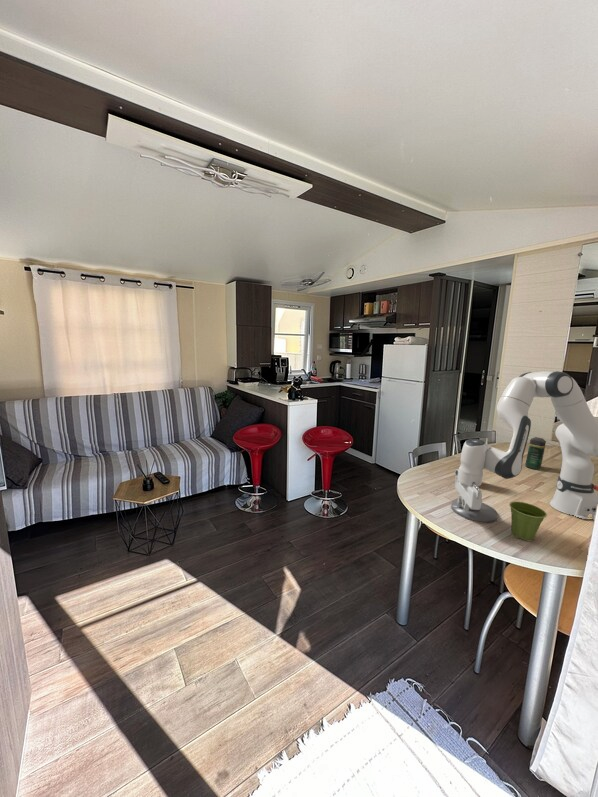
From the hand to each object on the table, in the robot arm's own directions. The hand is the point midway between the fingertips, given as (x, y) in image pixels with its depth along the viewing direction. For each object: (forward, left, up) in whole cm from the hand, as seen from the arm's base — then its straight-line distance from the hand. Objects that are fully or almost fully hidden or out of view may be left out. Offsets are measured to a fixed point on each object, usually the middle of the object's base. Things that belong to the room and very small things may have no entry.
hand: (465, 509), depth 139 cm
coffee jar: (-65, -74, -4) cm, 98 cm away
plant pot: (-18, +10, -4) cm, 21 cm away
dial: (-4, -6, -2) cm, 7 cm away
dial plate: (-6, -6, -4) cm, 9 cm away
